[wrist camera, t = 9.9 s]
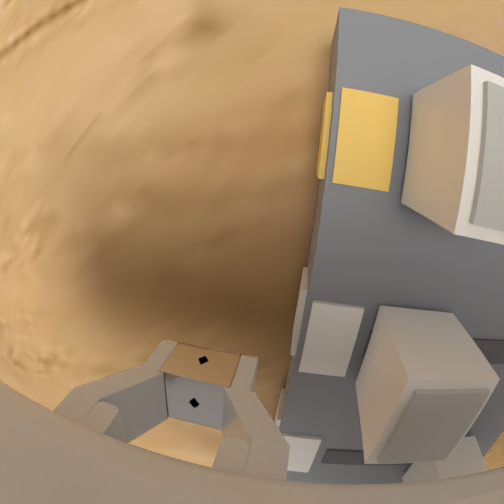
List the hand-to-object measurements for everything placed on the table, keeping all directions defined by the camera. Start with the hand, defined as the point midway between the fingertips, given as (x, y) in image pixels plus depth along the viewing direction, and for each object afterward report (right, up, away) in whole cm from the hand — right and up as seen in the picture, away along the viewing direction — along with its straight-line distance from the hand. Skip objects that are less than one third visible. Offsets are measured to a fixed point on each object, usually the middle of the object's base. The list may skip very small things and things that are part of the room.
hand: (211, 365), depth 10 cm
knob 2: (+7, 0, +1) cm, 7 cm away
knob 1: (+7, +6, -1) cm, 10 cm away
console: (+10, +1, +5) cm, 11 cm away
